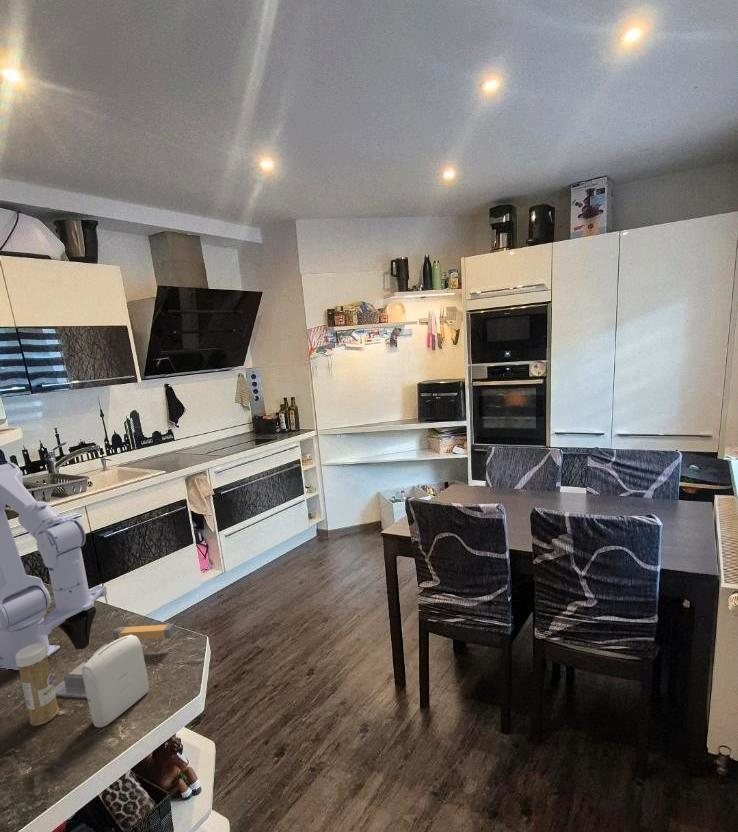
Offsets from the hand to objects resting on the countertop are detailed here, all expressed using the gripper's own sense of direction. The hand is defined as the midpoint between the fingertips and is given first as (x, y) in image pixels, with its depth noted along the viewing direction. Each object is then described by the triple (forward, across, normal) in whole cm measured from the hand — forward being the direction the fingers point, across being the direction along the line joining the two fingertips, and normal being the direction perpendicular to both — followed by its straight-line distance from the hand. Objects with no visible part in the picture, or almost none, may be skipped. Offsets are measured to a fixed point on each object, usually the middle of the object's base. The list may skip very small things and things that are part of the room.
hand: (82, 646), depth 92 cm
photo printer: (+8, -6, -13) cm, 16 cm away
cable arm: (+4, +10, -5) cm, 12 cm away
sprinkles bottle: (+8, -10, 0) cm, 12 cm away
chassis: (+7, +3, 0) cm, 8 cm away
